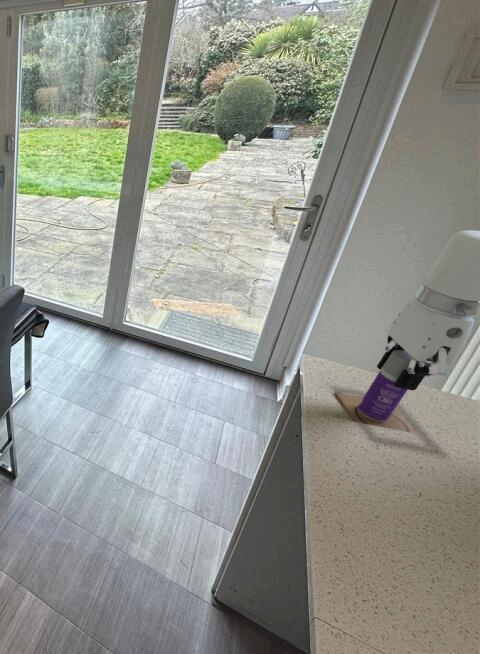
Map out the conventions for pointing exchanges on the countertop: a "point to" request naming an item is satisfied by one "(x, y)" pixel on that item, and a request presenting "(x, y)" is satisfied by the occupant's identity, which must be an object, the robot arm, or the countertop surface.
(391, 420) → the coaster
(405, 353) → the container
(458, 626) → the countertop surface
